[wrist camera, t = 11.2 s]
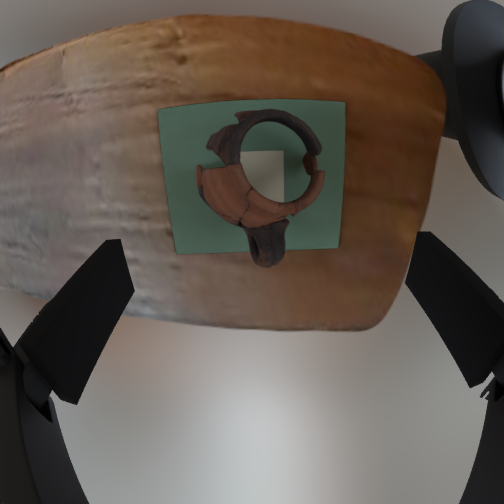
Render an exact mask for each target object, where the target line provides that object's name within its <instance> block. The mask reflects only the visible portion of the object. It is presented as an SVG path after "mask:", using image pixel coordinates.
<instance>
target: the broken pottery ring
mask: <svg viewBox="0 0 504 504" xmlns="http://www.w3.org/2000/svg"><path fill="white" fill-rule="evenodd" d="M234 116H235V117H237V119H238V122H239V123H238V124H230V125H228V126H225V127H223V128H221V129H220V130H219V131H218V132H217V133H214V134H212V135H211V136H210V138H209V140H208V142H207V144H206V149H207V150H213V152H214V153H215V154H216V155H217V156H218V157H219V158H220V159H221V160H222V161H223V163H224V164H225V166H224V167H217V168H211V169H208V168H207V169H204V171H203V173H202V165H197V166H196V169H195V179H196V186H197V189H198V192H199V195H200V197H201V198H202V199H203V201H204V202H205V203H206V204H207V205H208V206H209V207H210V208H211V209H212V210H213V211H214V212H215V213H216V214H218V215H219V216H220V217H221V218H223V219H224V220H225V221H227V222H229V223H230V224H232V225H235V226H238V227H240V228H242V229H243V230H244V231H245V233H246V235H247V238H248V243H249V248H250V252H251V255H252V258H253V260H254V262H255V264H257V265H259V266H261V267H267V268H268V267H271V266H273V265H277V264H278V263H279V262H280V261H281V260H282V258H283V257H284V254H285V247H286V243H285V231H286V228H287V227H288V225H289V223H290V222H289V220H288V219H286V216H288V215H289V214H291V215H292V216H293V217H294V216H295V215H297V214H298V213H299V212H300V211H301V210H304V209H305V208H306V207H308V206H309V205H310V204H312V203H313V202H314V201H315V200H316V199H317V197H318V195H319V194H320V192H321V190H322V188H323V185H324V180H325V171H323V170H318V162H317V158H316V155H319V154H320V153H321V151H322V145H321V143H320V142H319V139H318V138H317V136H316V135H315V134H314V132H313V131H312V129H311V128H310V127H309V126H308V125H307V124H306V123H305V122H304V121H302V120H301V119H299V118H298V117H296V116H293V115H292V114H291V113H288V112H286V111H283V110H277V109H263V110H249V111H241V112H237V113H235V114H234ZM261 122H277V123H280V124H282V125H285V126H286V127H288V128H290V129H291V130H292V131H294V132H295V133H296V134H297V135H298V136H299V137H300V139H301V140H302V141H303V144H304V145H305V148H306V150H307V152H306V154H305V155H304V157H303V159H302V161H303V165H304V168H305V171H306V173H307V175H309V176H311V179H310V183H309V185H308V187H307V189H306V191H305V192H304V193H303V194H302V195H301V196H300V197H299V198H298V199H296V200H293V201H291V202H284V203H283V202H276V201H273V200H270V199H268V198H266V197H265V196H263V195H261V194H260V193H259V192H258V191H257V190H256V189H255V188H254V187H253V186H252V185H251V183H250V182H249V180H248V179H247V177H246V175H245V172H244V170H243V167H242V164H241V162H240V157H241V156H240V152H241V145H242V141H243V139H244V137H245V135H246V134H247V132H248V131H249V130H250V129H251V128H252V127H253V126H254V125H256V124H258V123H261Z"/></svg>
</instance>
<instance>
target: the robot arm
mask: <svg viewBox="0 0 504 504" xmlns="http://www.w3.org/2000/svg"><path fill="white" fill-rule="evenodd" d="M496 90H497V98H498V104H499V109H500V113H501V117H502V120H503V123H504V53H503V54H502V55H501V57H500V59H499V61H498V64H497V70H496ZM405 284H406V285H407V287H408V288H409V289H410V291H411V292H412V294H413V295H414V297H415V298H416V299H417V301H418V302H419V304H420V305H421V307H422V308H423V310H424V311H425V313H426V314H427V316H428V317H429V319H430V320H431V322H432V324H433V325H434V327H435V328H436V330H437V331H438V332H439V334H440V336H441V338H442V340H443V341H444V343H445V344H446V346H447V348H448V350H449V351H450V353H451V355H452V356H453V358H454V360H455V361H456V363H457V365H458V367H459V369H460V371H461V372H462V374H463V376H464V378H465V380H466V382H467V384H468V386H469V388H472V387H474V386H477V385H479V384H481V383H483V382H484V381H485V380H486V378H487V377H488V376H489V374H490V373H491V372H493V374H494V376H495V377H494V378H493V379H492V380H491V382H490V383H489V385H488V386H487V387H486V388H485V389H484V391H483V392H482V393H481V396H480V397H481V398H482V397H483V396H484V395H485V394H486V392H487V391H489V394H488V395H487V397H486V398H485V399H486V400H488V404H487V410H486V416H485V422H484V426H483V431H482V436H481V439H480V443H479V447H478V451H477V455H476V458H475V462H474V465H473V468H472V471H471V474H470V477H469V480H468V483H467V485H466V488H465V490H464V493H463V496H462V498H461V500H460V503H459V504H504V303H503V301H502V300H501V299H499V297H498V296H497V295H496V294H495V293H494V292H493V290H492V289H490V288H489V287H488V286H487V285H486V284H485V283H484V282H483V281H482V280H481V279H480V277H478V275H476V273H475V272H474V271H472V269H471V268H470V267H469V266H467V265H466V264H465V263H464V262H463V261H462V260H461V259H460V258H459V257H458V256H457V255H456V254H455V253H454V252H453V251H452V250H451V249H449V248H448V247H447V246H446V245H445V244H444V243H443V242H441V240H439V239H438V238H437V237H436V236H435V235H434V234H432V233H431V232H420V231H418V232H417V236H416V241H415V245H414V250H413V254H412V258H411V262H410V266H409V270H408V274H407V277H406V281H405ZM134 292H135V290H134V286H133V283H132V280H131V276H130V273H129V269H128V266H127V262H126V259H125V255H124V251H123V247H122V243H121V239H112V240H106V241H105V242H104V243H103V244H102V245H101V246H100V247H99V248H98V249H97V250H96V251H95V252H94V253H93V254H92V255H91V256H90V257H89V258H88V259H87V260H86V261H85V263H84V264H83V265H82V266H81V267H80V268H79V269H78V270H77V271H76V272H75V274H74V275H73V276H72V277H71V278H70V279H69V280H68V281H67V283H66V284H65V285H64V286H63V287H62V288H61V290H60V291H59V292H58V293H57V294H56V295H55V297H54V298H53V299H52V300H51V301H49V302H48V303H47V304H46V305H45V306H44V307H43V308H42V309H41V311H40V312H39V315H37V316H36V317H35V318H34V320H33V322H31V324H30V325H29V326H28V327H27V329H26V330H25V332H24V333H23V334H22V336H21V337H20V338H19V340H18V341H17V343H16V344H15V346H14V347H12V346H11V344H10V342H9V341H8V339H7V338H6V336H5V334H4V333H3V331H2V329H1V328H0V504H89V502H88V500H87V498H86V496H85V494H84V492H83V490H82V488H81V485H80V483H79V481H78V478H77V476H76V473H75V471H74V468H73V465H72V463H71V460H70V458H69V454H68V452H67V449H66V446H65V443H64V439H63V436H62V433H61V429H60V426H59V422H58V418H57V414H56V410H55V406H54V403H53V401H52V398H51V397H50V396H49V395H50V393H51V391H52V390H53V391H54V392H55V394H56V395H57V396H58V397H59V398H60V399H61V400H63V401H66V402H69V403H72V404H75V405H77V404H78V401H79V399H80V397H81V394H82V392H83V390H84V388H85V386H86V384H87V381H88V379H89V377H90V375H91V373H92V371H93V369H94V366H95V365H96V363H97V360H98V358H99V356H100V354H101V352H102V350H103V348H104V347H105V345H106V343H107V341H108V339H109V337H110V335H111V333H112V331H113V329H114V327H115V326H116V324H117V322H118V320H119V318H120V316H121V315H122V313H123V311H124V309H125V307H126V306H127V304H128V302H129V300H130V299H131V297H132V295H133V293H134Z"/></svg>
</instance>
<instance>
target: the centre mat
mask: <svg viewBox="0 0 504 504" xmlns="http://www.w3.org/2000/svg"><path fill="white" fill-rule="evenodd" d="M263 109H277V110H283V111H286V112H288V113H291V114H292V115H293V116H296V117H298V118H299V119H301V120H302V121H304V122H305V123H306V124H307V125H308V126H309V127H310V128H311V129H312V131H313V132H314V134H315V135H316V136H317V138H318V139H319V142H320V143H321V145H322V151H321V153H320V154H319V155H316V158H317V162H318V170H323V171H325V180H324V185H323V188H322V190H321V192H320V194H319V195H318V197H317V199H316V200H315V201H314V202H313V203H312V204H310V205H309V206H308V207H306V208H305V209H304V210H301V211H300V212H299V213H298V214H297V215H295V216H294V217H293V216H292V215H291V214H289V215H288V216H286V219H288V220H289V222H290V223H289V225H288V227H287V228H286V231H285V243H286V247H285V250H302V249H329V248H338V245H339V236H340V225H341V214H342V201H343V186H344V166H345V124H346V115H345V102H335V101H321V100H297V99H260V100H237V101H222V102H211V103H201V104H192V105H185V106H177V107H171V108H164V109H159V110H158V119H159V131H160V142H161V151H162V160H163V169H164V177H165V184H166V192H167V199H168V206H169V212H170V219H171V225H172V231H173V237H174V242H175V248H176V253H177V254H196V253H222V252H249V251H250V248H249V243H248V238H247V235H246V233H245V231H244V230H243V229H242V228H240V227H238V226H235V225H232V224H230V223H229V222H227V221H225V220H224V219H223V218H221V217H220V216H219V215H218V214H216V213H215V212H214V211H213V210H212V209H211V208H210V207H209V206H208V205H207V204H206V203H205V202H204V201H203V199H202V198H201V197H200V195H199V192H198V189H197V186H196V179H195V169H196V166H197V165H202V173H203V171H204V169H207V168H208V169H211V168H217V167H224V166H225V164H224V163H223V161H222V160H221V159H220V158H219V157H218V156H217V155H216V154H215V153H214V152H213V150H207V149H206V144H207V142H208V140H209V138H210V136H211V135H212V134H214V133H217V132H218V131H219V130H220V129H221V128H223V127H225V126H228V125H230V124H238V123H239V122H238V119H237V117H235V116H234V114H235V113H237V112H241V111H249V110H263ZM306 152H307V150H306V148H305V145H304V144H303V141H302V140H301V139H300V137H299V136H298V135H297V134H296V133H295V132H294V131H292V130H291V129H290V128H288V127H286V126H285V125H282V124H280V123H277V122H261V123H258V124H256V125H254V126H253V127H252V128H251V129H250V130H249V131H248V132H247V134H246V135H245V137H244V139H243V141H242V145H241V152H240V156H241V157H240V162H241V164H242V167H243V170H244V172H245V175H246V177H247V179H248V180H249V182H250V183H251V185H252V186H253V187H254V188H255V189H256V190H257V191H258V192H259V193H260V194H261V195H263V196H265V197H266V198H268V199H270V200H273V201H276V202H283V203H284V202H291V201H293V200H296V199H298V198H299V197H300V196H301V195H302V194H303V193H304V192H305V191H306V189H307V187H308V185H309V183H310V179H311V176H309V175H307V173H306V171H305V168H304V165H303V161H302V159H303V157H304V155H305V154H306Z"/></svg>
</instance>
